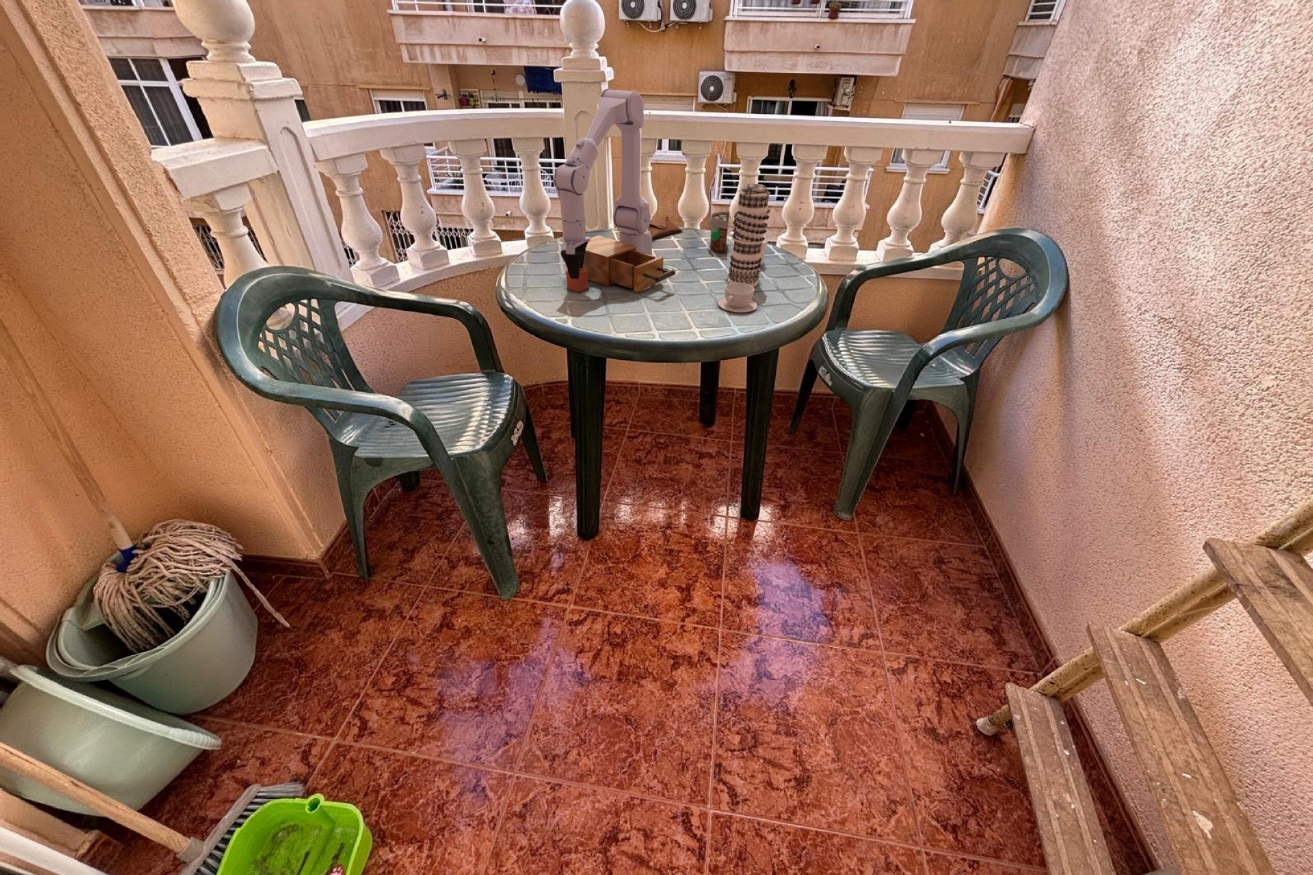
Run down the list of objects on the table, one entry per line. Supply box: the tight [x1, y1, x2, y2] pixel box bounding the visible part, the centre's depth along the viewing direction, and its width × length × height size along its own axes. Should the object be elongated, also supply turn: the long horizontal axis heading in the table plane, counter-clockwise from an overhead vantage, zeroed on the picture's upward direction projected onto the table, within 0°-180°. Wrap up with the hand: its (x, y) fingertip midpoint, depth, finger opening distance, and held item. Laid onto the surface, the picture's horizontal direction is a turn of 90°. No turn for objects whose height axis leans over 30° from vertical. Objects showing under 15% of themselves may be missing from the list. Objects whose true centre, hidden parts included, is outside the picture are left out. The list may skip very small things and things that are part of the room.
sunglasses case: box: [647, 216, 683, 241], centre depth 182 cm, size 18×7×7 cm, turn 138°
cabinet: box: [581, 235, 637, 287], centre depth 149 cm, size 14×12×8 cm
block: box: [565, 268, 589, 293], centre depth 141 cm, size 4×4×5 cm
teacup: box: [717, 283, 758, 313], centre depth 134 cm, size 10×10×5 cm
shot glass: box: [760, 238, 769, 266], centre depth 160 cm, size 7×7×7 cm
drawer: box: [608, 250, 676, 293], centre depth 143 cm, size 19×11×6 cm, turn 52°
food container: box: [708, 211, 730, 254], centre depth 170 cm, size 12×6×10 cm, turn 172°
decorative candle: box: [727, 183, 771, 288], centre depth 142 cm, size 9×9×25 cm
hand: (576, 273), depth 140 cm, fingers open, 7 cm apart
